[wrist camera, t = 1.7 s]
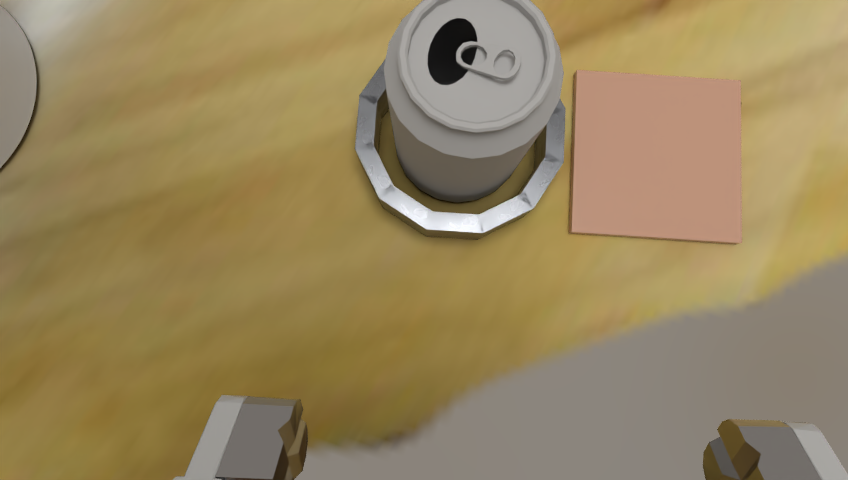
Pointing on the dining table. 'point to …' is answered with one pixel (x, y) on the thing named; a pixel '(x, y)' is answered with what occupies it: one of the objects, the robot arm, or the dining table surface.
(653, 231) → the tile
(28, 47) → the robot arm
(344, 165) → the dining table surface
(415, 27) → the can
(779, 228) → the dining table surface
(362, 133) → the ring
